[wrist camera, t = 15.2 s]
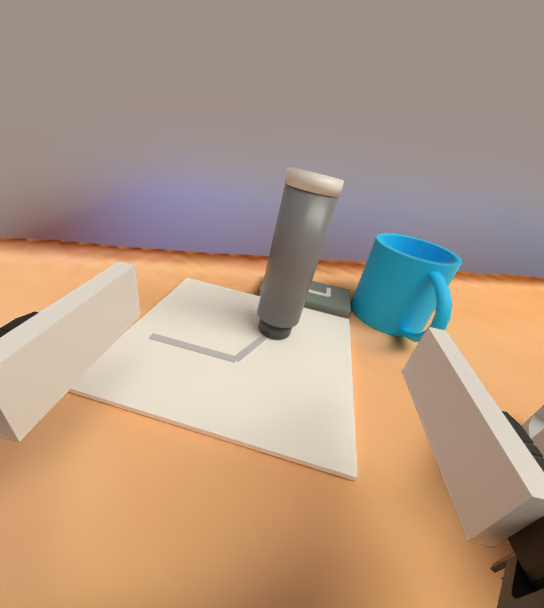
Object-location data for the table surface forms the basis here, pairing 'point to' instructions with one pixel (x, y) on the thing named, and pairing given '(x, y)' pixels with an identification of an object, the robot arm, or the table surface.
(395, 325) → the mug
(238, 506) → the table surface
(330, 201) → the marker
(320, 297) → the dark grey flat block
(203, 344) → the paper
